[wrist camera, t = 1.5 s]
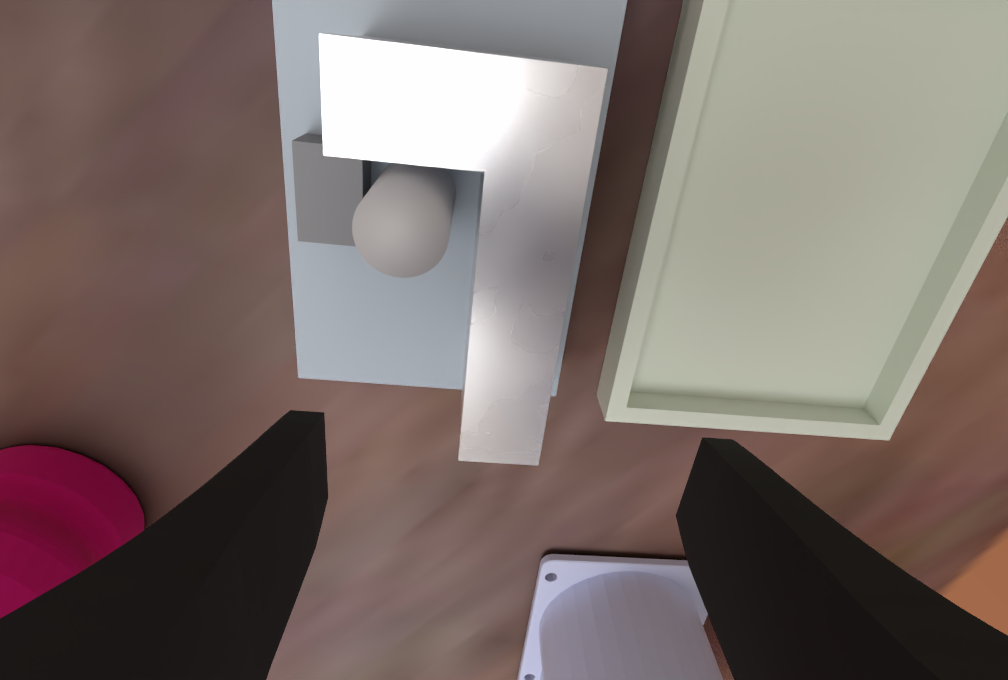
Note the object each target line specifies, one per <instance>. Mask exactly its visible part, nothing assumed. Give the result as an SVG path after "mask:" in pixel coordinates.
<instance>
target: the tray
mask: <svg viewBox="0 0 1008 680" xmlns="http://www.w3.org/2000/svg"><path fill="white" fill-rule="evenodd" d="M1007 217H1008V0H683V4H682V8H681V13H680V18H679V22H678V27H677V31H676V36H675V40H674V45H673V49H672V54H671V58H670V63H669V67H668V72H667V77H666V81H665V86H664V90H663V95H662V99H661V104H660V108H659V113H658V117H657V122H656V126H655V131H654V136H653V140H652V145H651V149H650V154H649V158H648V163H647V167H646V172H645V176H644V181H643V185H642V190H641V195H640V199H639V204H638V208H637V213H636V217H635V222H634V226H633V231H632V235H631V240H630V244H629V249H628V254H627V258H626V263H625V267H624V272H623V276H622V281H621V285H620V290H619V294H618V299H617V303H616V308H615V313H614V317H613V322H612V326H611V331H610V335H609V340H608V344H607V349H606V353H605V358H604V363H603V367H602V372H601V376H600V381H599V385H598V390H597V394H596V395H597V398H598V401H599V404H600V407H601V410H602V413H603V416H604V419H605V421H613V422H628V423H642V424H657V425H672V426H686V427H701V428H715V429H730V430H745V431H759V432H774V433H788V434H803V435H818V436H832V437H847V438H862V439H876V440H890V438H891V436H892V434H893V432H894V430H895V428H896V426H897V424H898V423H899V421H900V419H901V417H902V415H903V413H904V411H905V409H906V407H907V406H908V404H909V402H910V400H911V398H912V396H913V394H914V392H915V390H916V389H917V387H918V385H919V383H920V381H921V379H922V377H923V375H924V373H925V372H926V370H927V368H928V366H929V364H930V362H931V360H932V358H933V356H934V355H935V353H936V351H937V349H938V347H939V345H940V343H941V341H942V339H943V338H944V336H945V334H946V332H947V330H948V328H949V326H950V324H951V322H952V321H953V319H954V317H955V315H956V313H957V311H958V309H959V307H960V306H961V304H962V302H963V300H964V298H965V296H966V294H967V292H968V290H969V289H970V287H971V285H972V283H973V281H974V279H975V277H976V275H977V273H978V272H979V270H980V268H981V266H982V264H983V262H984V260H985V258H986V256H987V255H988V253H989V251H990V249H991V247H992V245H993V243H994V241H995V239H996V238H997V236H998V234H999V232H1000V230H1001V228H1002V226H1003V224H1004V222H1005V221H1006V219H1007Z"/></svg>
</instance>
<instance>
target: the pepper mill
mask: <svg viewBox="0 0 1008 680" xmlns="http://www.w3.org/2000/svg"><path fill="white" fill-rule="evenodd" d="M144 525H145V523H144V514H143V511H142V509H141V506H140V504H139V501H138V499H137V496H136V495H135V494H134V493H133V491H132V490H131V489H130V488H129V486H128V485H127V484H126V483H125V482H124V481H123V480H122V479H121V478H120V477H118V476H117V475H116V474H115V473H113V472H112V471H111V470H109V469H108V468H107V467H105V466H104V465H102V464H100V463H98V462H96V461H94V460H92V459H90V458H88V457H86V456H84V455H81V454H77V453H74V452H71V451H68V450H64V449H61V448H58V447H48V446H37V445H24V446H16V447H10V448H6V449H2V450H0V618H2V617H4V616H5V615H7V614H9V613H11V612H12V611H14V610H16V609H18V608H19V607H21V606H23V605H24V604H26V603H28V602H30V601H31V600H33V599H35V598H37V597H38V596H40V595H42V594H43V593H45V592H47V591H49V590H50V589H52V588H54V587H56V586H57V585H59V584H61V583H62V582H64V581H66V580H68V579H69V578H71V577H73V576H75V575H76V574H78V573H80V572H81V571H83V570H84V569H86V568H88V567H89V566H91V565H93V564H94V563H96V562H97V561H99V560H100V559H102V558H103V557H105V556H106V555H108V554H109V553H111V552H113V551H114V550H116V549H117V548H119V547H120V546H122V545H123V544H125V543H126V542H128V541H129V540H131V539H132V538H134V537H135V536H137V535H138V534H139V533H141V532H142V531H144Z"/></svg>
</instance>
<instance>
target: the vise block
mask: <svg viewBox="0 0 1008 680" xmlns="http://www.w3.org/2000/svg"><path fill="white" fill-rule="evenodd" d="M626 5H627V0H272V6H273V21H274V35H275V49H276V64H277V78H278V93H279V107H280V121H281V136H282V150H283V165H284V179H285V193H286V208H287V222H288V236H289V251H290V265H291V280H292V294H293V308H294V323H295V337H296V352H297V366H298V378H308V379H322V380H336V381H350V382H364V383H378V384H392V385H406V386H420V387H434V388H447V389H461V390H462V379H463V367H464V355H465V344H466V333H467V321H468V310H469V299H470V287H471V276H472V265H473V253H474V242H475V231H476V219H477V208H478V196H479V185H480V174H481V172H478V171H468V170H459V169H449V168H439V167H430V166H420V165H411V164H401V163H391V162H382V161H372V160H363V159H353V158H343V157H334V156H324V155H323V130H322V104H321V77H320V50H319V33H320V34H339V35H358V36H369V37H377V38H385V39H393V40H401V41H410V42H418V43H426V44H434V45H442V46H451V47H459V48H467V49H475V50H483V51H491V52H500V53H508V54H516V55H524V56H532V57H540V58H549V59H557V60H565V61H573V62H579V63H583V64H588V65H593V66H598V67H602V68H607V69H608V71H607V77H606V83H605V88H604V94H603V100H602V106H601V111H600V117H599V123H598V128H597V134H596V140H595V145H594V151H593V157H592V162H591V168H590V174H589V180H588V185H587V191H586V197H585V202H584V208H583V214H582V219H581V225H580V231H579V236H578V242H577V248H576V254H575V259H574V265H573V271H572V276H571V282H570V288H569V293H568V299H567V305H566V310H565V316H564V322H563V328H562V333H561V339H560V345H559V350H558V356H557V362H556V367H555V373H554V379H553V384H552V390H551V396H556V392H557V386H558V381H559V375H560V370H561V364H562V359H563V353H564V348H565V342H566V337H567V331H568V326H569V320H570V315H571V309H572V304H573V298H574V292H575V287H576V281H577V276H578V270H579V265H580V259H581V254H582V248H583V243H584V237H585V232H586V226H587V221H588V215H589V210H590V204H591V198H592V193H593V187H594V182H595V176H596V171H597V165H598V160H599V154H600V149H601V143H602V138H603V132H604V127H605V121H606V116H607V110H608V105H609V99H610V93H611V88H612V82H613V77H614V71H615V66H616V60H617V55H618V49H619V44H620V38H621V33H622V27H623V22H624V16H625V11H626Z"/></svg>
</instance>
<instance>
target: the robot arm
mask: <svg viewBox="0 0 1008 680" xmlns="http://www.w3.org/2000/svg"><path fill="white" fill-rule="evenodd" d="M327 499H328V484H327V463H326V442H325V420H324V413H323V412H307V411H292V410H290V411H289V412H288V413H286V414H285V415H284V416H283V417H282V418H280V419H279V420H278V421H277V422H276V423H275V424H274V425H272V426H271V427H270V428H269V429H268V430H267V431H266V432H265V433H263V434H262V435H261V436H260V437H259V438H258V439H257V440H256V441H255V442H253V443H252V444H251V445H250V446H249V447H248V448H247V449H245V450H244V451H243V452H242V453H241V454H240V455H239V456H237V457H236V458H235V459H234V460H233V461H232V462H230V463H229V464H228V465H227V466H226V467H224V468H223V469H222V470H221V471H220V472H219V473H217V474H216V475H215V476H214V477H213V478H211V479H210V480H209V481H208V482H207V483H205V484H204V485H203V486H202V487H200V488H199V489H198V490H197V491H195V492H194V493H193V494H192V495H190V496H189V497H188V498H186V499H185V500H184V501H182V502H181V503H180V504H178V505H177V506H176V507H175V508H173V509H172V510H171V511H169V512H168V513H167V514H165V515H164V516H163V517H162V518H160V519H159V520H158V521H156V522H155V523H153V524H152V525H151V526H149V527H148V528H147V529H145V530H144V531H142V532H141V533H139V534H138V535H137V536H135V537H134V538H132V539H131V540H129V541H128V542H126V543H125V544H123V545H122V546H120V547H119V548H117V549H116V550H114V551H113V552H111V553H109V554H108V555H106V556H105V557H103V558H102V559H100V560H99V561H97V562H96V563H94V564H93V565H91V566H89V567H88V568H86V569H84V570H83V571H81V572H80V573H78V574H76V575H75V576H73V577H71V578H69V579H68V580H66V581H64V582H62V583H61V584H59V585H57V586H56V587H54V588H52V589H50V590H49V591H47V592H45V593H43V594H42V595H40V596H38V597H37V598H35V599H33V600H31V601H30V602H28V603H26V604H24V605H23V606H21V607H19V608H18V609H16V610H14V611H12V612H11V613H9V614H7V615H5V616H4V617H2V618H0V680H266V678H267V675H268V672H269V669H270V667H271V664H272V661H273V659H274V656H275V654H276V651H277V648H278V646H279V643H280V640H281V638H282V635H283V633H284V630H285V627H286V625H287V622H288V619H289V617H290V614H291V612H292V609H293V606H294V604H295V601H296V599H297V596H298V593H299V591H300V588H301V585H302V583H303V580H304V577H305V575H306V572H307V569H308V567H309V564H310V561H311V559H312V556H313V553H314V550H315V548H316V544H317V540H318V536H319V532H320V528H321V524H322V520H323V516H324V512H325V508H326V504H327ZM676 518H677V522H678V526H679V531H680V535H681V539H682V543H683V547H684V550H685V554H686V558H687V560H669V559H648V558H627V557H606V556H585V555H564V554H549V555H546V556H544V557H543V558H542V559H541V561H540V566H539V571H538V576H537V581H536V586H535V591H534V596H533V601H532V606H531V611H530V616H529V621H528V626H527V631H526V637H525V642H524V647H523V652H522V657H521V662H520V667H519V672H518V677H517V680H723V677H722V675H721V672H720V670H719V667H718V664H717V662H716V659H715V656H714V654H713V651H712V649H711V646H710V643H709V641H708V638H707V635H706V633H705V630H704V628H703V625H704V622H705V620H706V618H707V615H708V616H709V618H710V621H711V623H712V626H713V628H714V631H715V633H716V636H717V638H718V640H719V643H720V645H721V648H722V650H723V653H724V655H725V658H726V660H727V663H728V665H729V668H730V670H731V673H732V675H733V677H734V680H1008V636H1007V635H1006V634H1004V633H1002V632H1000V631H999V630H997V629H995V628H993V627H992V626H990V625H988V624H987V623H985V622H983V621H981V620H980V619H978V618H977V617H975V616H973V615H972V614H970V613H968V612H967V611H965V610H963V609H961V608H960V607H959V606H957V605H955V604H954V603H952V602H951V601H949V600H948V599H946V598H945V597H943V596H942V595H940V594H938V593H937V592H935V591H934V590H932V589H931V588H929V587H928V586H926V585H925V584H923V583H922V582H920V581H918V580H917V579H915V578H914V577H912V576H911V575H909V574H908V573H906V572H905V571H904V570H902V569H901V568H899V567H898V566H896V565H895V564H893V563H892V562H891V561H889V560H888V559H886V558H885V557H884V556H882V555H881V554H880V553H878V552H877V551H875V550H874V549H873V548H871V547H870V546H869V545H867V544H866V543H864V542H863V541H862V540H860V539H859V538H858V537H856V536H855V535H854V534H852V533H851V532H850V531H848V530H847V529H846V528H844V527H843V526H842V525H840V524H839V523H838V522H837V521H835V520H834V519H833V518H831V517H830V516H829V515H828V514H826V513H825V512H824V511H822V510H821V509H820V508H819V507H817V506H816V505H815V504H814V503H812V502H811V501H810V500H809V499H807V498H806V497H805V496H804V495H802V494H801V493H800V492H799V491H798V490H796V489H795V488H794V487H793V486H791V485H790V484H789V483H788V482H786V481H785V480H784V479H783V478H782V477H780V476H779V475H778V474H777V473H775V472H774V471H773V470H772V469H770V468H769V467H768V466H767V465H766V464H764V463H763V462H762V461H761V460H759V459H758V458H757V457H756V456H754V455H753V454H752V453H750V452H749V451H748V450H746V449H745V448H744V447H742V446H741V445H740V444H738V443H737V442H735V441H734V440H732V439H716V438H702V440H701V443H700V446H699V449H698V452H697V455H696V458H695V461H694V464H693V467H692V470H691V473H690V475H689V478H688V481H687V484H686V487H685V490H684V493H683V496H682V499H681V502H680V505H679V508H678V511H677V514H676ZM549 573H552V574H549Z"/></svg>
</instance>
